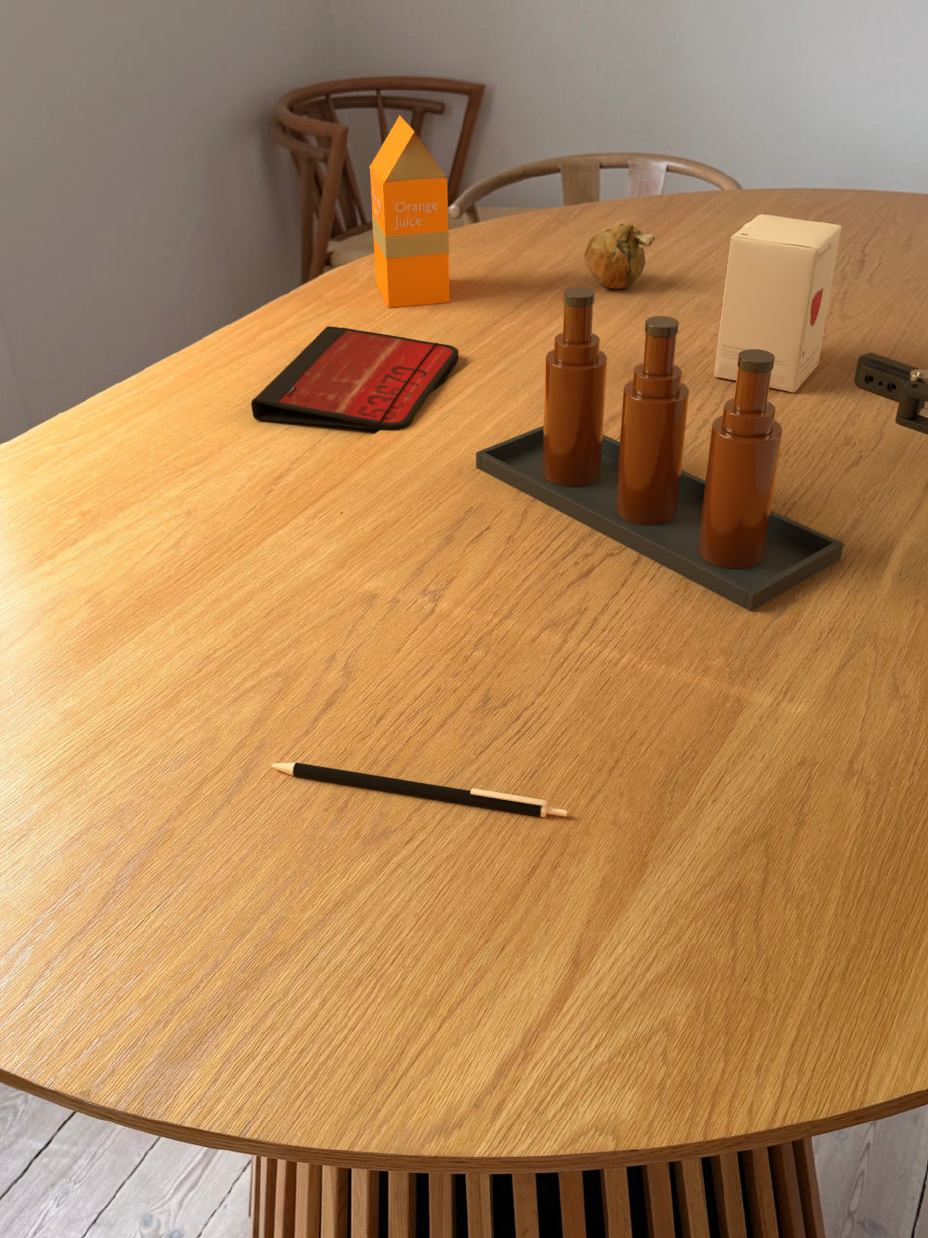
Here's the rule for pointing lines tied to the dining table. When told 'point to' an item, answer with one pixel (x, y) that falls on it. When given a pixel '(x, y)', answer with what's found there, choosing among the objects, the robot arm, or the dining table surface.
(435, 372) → the binder
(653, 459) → the bottle
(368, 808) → the dining table surface
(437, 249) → the orange juice
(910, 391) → the robot arm
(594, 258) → the onion
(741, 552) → the bottle
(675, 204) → the dining table surface
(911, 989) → the dining table surface
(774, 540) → the tray
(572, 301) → the bottle
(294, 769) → the pen
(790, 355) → the white product box
